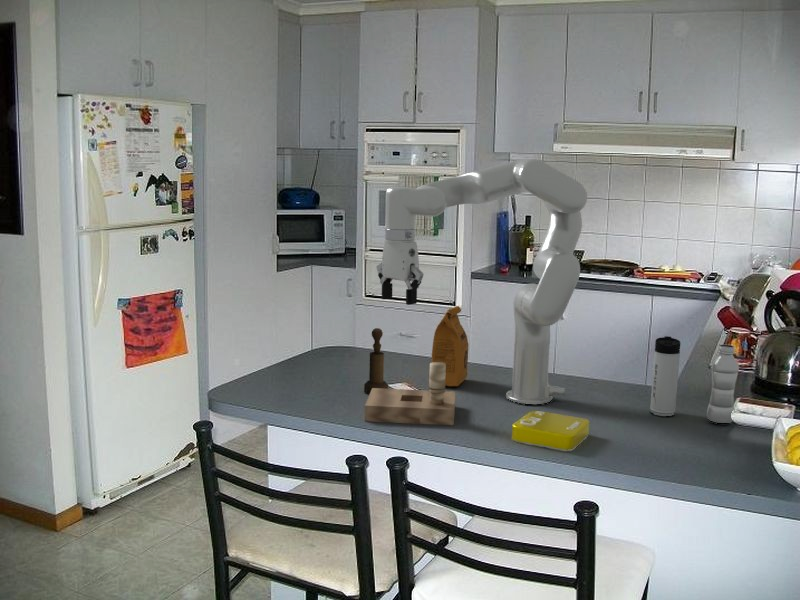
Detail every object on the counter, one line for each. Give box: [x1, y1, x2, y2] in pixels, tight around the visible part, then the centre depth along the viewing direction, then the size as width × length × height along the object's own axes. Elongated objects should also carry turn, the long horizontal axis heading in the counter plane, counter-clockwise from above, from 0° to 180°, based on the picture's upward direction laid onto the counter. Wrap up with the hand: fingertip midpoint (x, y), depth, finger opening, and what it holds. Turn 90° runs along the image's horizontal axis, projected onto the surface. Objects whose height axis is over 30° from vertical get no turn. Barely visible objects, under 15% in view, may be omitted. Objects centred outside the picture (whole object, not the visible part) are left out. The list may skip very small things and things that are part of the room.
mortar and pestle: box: [363, 327, 389, 395], centre depth 240 cm, size 7×6×18 cm
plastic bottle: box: [706, 344, 740, 424], centre depth 219 cm, size 6×7×20 cm
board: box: [364, 388, 456, 426], centre depth 222 cm, size 22×16×4 cm
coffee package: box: [431, 305, 469, 387], centre depth 250 cm, size 10×12×22 cm
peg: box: [428, 362, 446, 405], centre depth 218 cm, size 4×4×10 cm
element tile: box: [511, 409, 590, 450], centre depth 206 cm, size 15×15×5 cm
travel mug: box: [649, 335, 681, 414], centre depth 226 cm, size 6×7×20 cm
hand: (398, 301), depth 226 cm, fingers open, 9 cm apart
